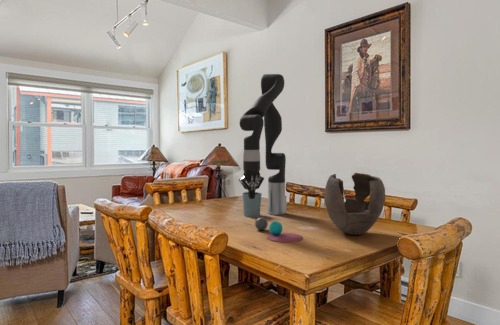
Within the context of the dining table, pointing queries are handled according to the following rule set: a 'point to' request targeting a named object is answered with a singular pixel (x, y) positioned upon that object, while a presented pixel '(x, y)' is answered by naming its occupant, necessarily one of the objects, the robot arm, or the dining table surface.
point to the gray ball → (261, 223)
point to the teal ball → (275, 228)
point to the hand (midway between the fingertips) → (251, 198)
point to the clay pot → (355, 203)
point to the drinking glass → (252, 205)
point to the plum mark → (285, 237)
